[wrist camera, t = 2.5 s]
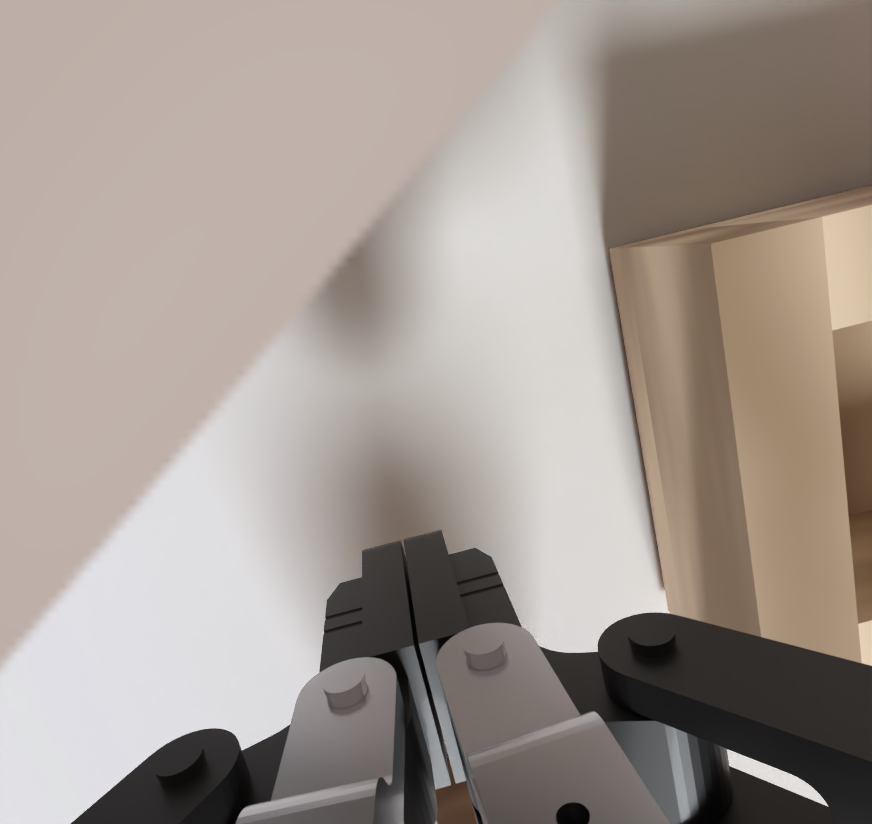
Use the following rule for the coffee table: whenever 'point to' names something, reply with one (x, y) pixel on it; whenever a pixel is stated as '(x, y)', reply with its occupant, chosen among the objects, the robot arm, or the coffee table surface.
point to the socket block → (759, 417)
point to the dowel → (454, 803)
